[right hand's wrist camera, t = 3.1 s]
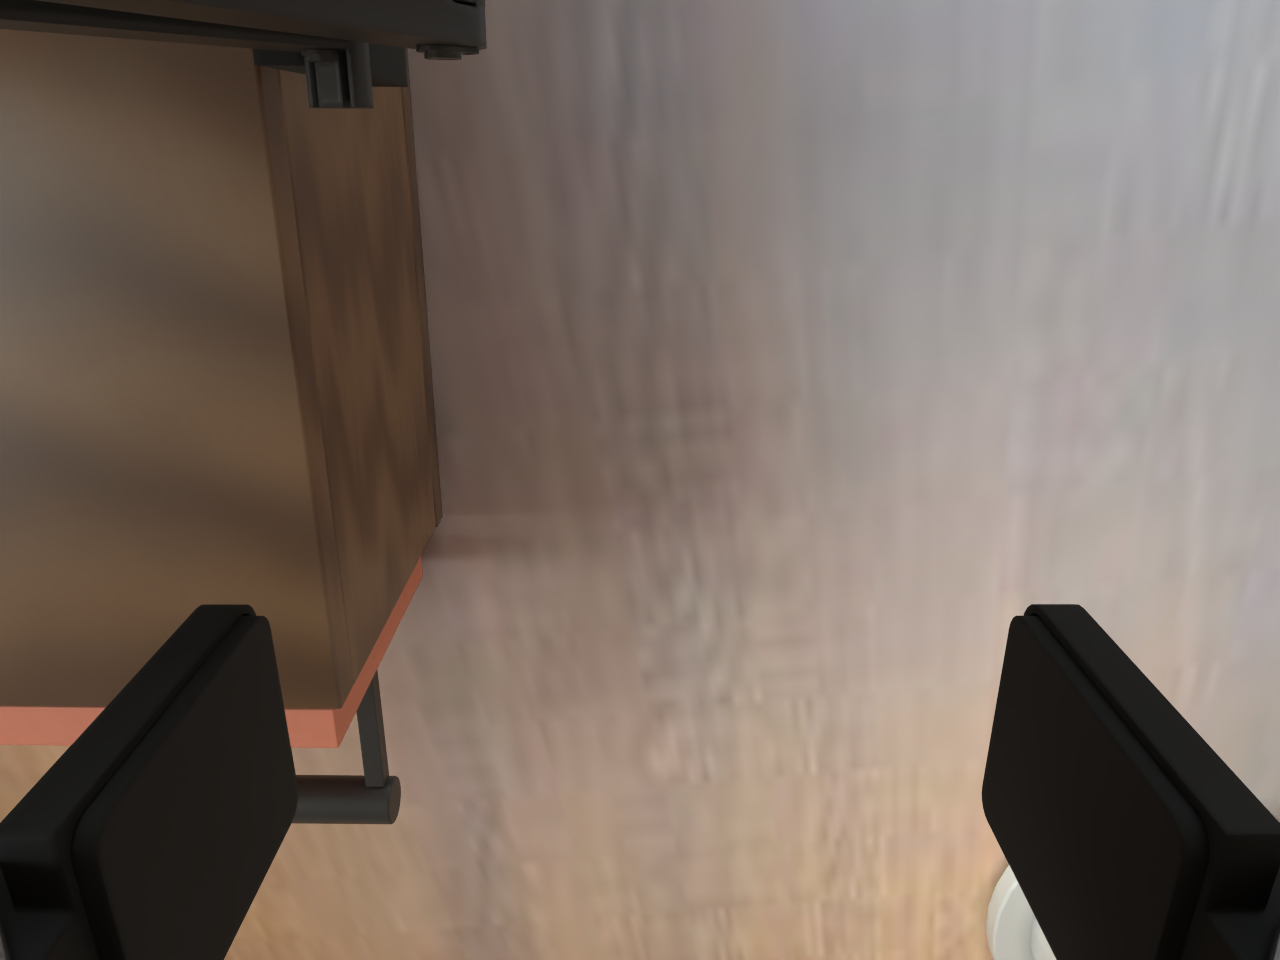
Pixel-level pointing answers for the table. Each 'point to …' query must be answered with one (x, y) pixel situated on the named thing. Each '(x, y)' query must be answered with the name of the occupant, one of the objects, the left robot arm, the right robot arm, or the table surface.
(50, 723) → the drawer
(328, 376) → the cabinet
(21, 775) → the table surface
